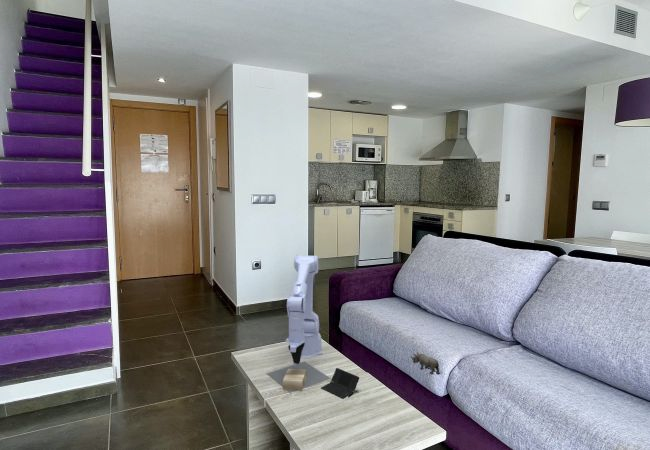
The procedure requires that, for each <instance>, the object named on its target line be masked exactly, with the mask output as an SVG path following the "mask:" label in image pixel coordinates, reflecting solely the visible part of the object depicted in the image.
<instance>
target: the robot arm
mask: <svg viewBox="0 0 650 450" xmlns="http://www.w3.org/2000/svg"><path fill="white" fill-rule="evenodd" d="M293 260H294V261H293V267H294V269H295V271H296V272H297V274H296V275H297V276H296V281H294V282H293V284H292V287H291V291H290V297H287V301H286V311H287V317H288V337H287V338H286V337H285V338H286V339H285V343H286V342H287V343H288V344H289V345H288V350H289V351H290V354H291V357H292V361H293V365H295V364H299V363H301V358H310V357H312V356H316V355H317V356H318V355H321V354H323V351H322V336H321V333H320V332H319V331H320V320H319V319H320V317H319V315H318V314H317V313H315V311H314V309H313V306H314V304H313V301H314V300H313V299H314V298H313V297H314V277H315V275H316V274H318V273H319V257H318V255H298V254H296V255H295V256H294V259H293Z"/></svg>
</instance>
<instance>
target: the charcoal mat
mask: <svg viewBox="0 0 650 450" xmlns="http://www.w3.org/2000/svg"><path fill="white" fill-rule="evenodd" d="M288 369H300V370H306V381H305V384H304V387H303V389H306V388H308V387H311V386H314V385H317V384H319V383H322V382H325V381H328V380H332V378H331V377H330V376H328V375H327V374H325V373H323V372H322V371H321V370H319V369H318V368H316V367H314V366H312V365H311V364H309V363H308V362H306V361H302V362H300V363H299V364H293V365H289V366H287V367H282V368H280V369H277V370H276V369H275V370H273V371H270V372H266V373H265V374H266V375H267V376H268V377H269V378H271V379H272V380H273V381H275V382H276V383H277V384H278V385H279V386H281V387H282V388H283V379H284V377H285V375H286V372H287V370H288ZM286 391H287V392H288V393H290V394H291V393H294V392H297V390H286Z"/></svg>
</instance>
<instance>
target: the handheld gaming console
mask: <svg viewBox="0 0 650 450" xmlns="http://www.w3.org/2000/svg"><path fill="white" fill-rule="evenodd" d="M333 372H334V373H333V375H332V378H331V379H330V382H329V383H327V384H325V385H323V386H321V387H320V389H321V390H323V391H325V392H327V393H330V394H331V395H333V396H336V397H337V398H339V399H341V400H344V399H346V398H351V397H352V396H354V395H355V390H356V388H357V386H358V383H359V380H360V377H359V376H358V375H355V374H353V373H351V372H348V371H346V370H343V369H341V368H338V367H336V368H335V370H334V371H333Z"/></svg>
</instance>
